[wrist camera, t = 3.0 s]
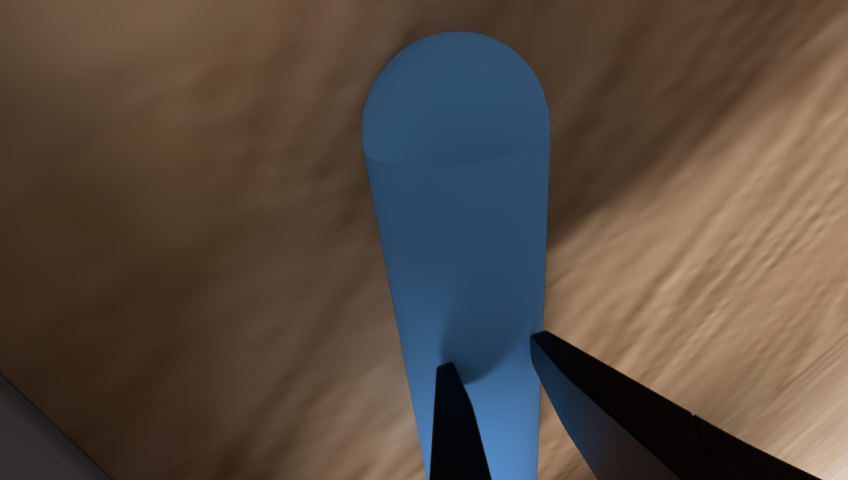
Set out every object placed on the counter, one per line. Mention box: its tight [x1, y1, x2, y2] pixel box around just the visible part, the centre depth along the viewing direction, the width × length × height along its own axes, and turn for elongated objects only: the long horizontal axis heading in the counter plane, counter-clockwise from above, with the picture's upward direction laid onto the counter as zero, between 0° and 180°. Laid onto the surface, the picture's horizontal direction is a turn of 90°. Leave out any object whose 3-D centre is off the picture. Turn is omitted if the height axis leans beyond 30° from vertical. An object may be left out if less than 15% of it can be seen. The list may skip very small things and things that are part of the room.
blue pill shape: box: [362, 31, 551, 480], centre depth 12 cm, size 16×4×4 cm, turn 7°
